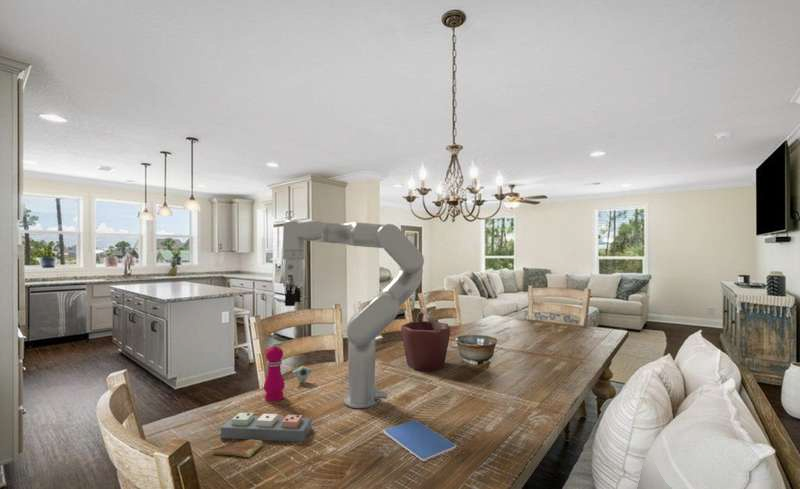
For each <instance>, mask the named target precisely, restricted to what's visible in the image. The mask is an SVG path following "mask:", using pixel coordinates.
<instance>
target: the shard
mask: <svg viewBox="0 0 800 489" xmlns="http://www.w3.org/2000/svg"><path fill="white" fill-rule="evenodd" d="M262 444H263V440H255V439H243V440H242V441H236V442H233V443H230V444H226V445H223V446H220V447H217V448H213V449H211V451H212V452H213V455H226V456H227V455H229V456H238V457H243V458H251V457H252V455H253V454H255V452H256V451H257V450H259V449H260V448H261V447H262Z"/></svg>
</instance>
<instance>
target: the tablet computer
mask: <svg viewBox="0 0 800 489" xmlns="http://www.w3.org/2000/svg"><path fill="white" fill-rule="evenodd" d="M382 433H383V434H384V435H386V436H387V437H388V438H390V439H391V440H392V441H394V442H395V443H397V445H398V446H399V447H402V449H404V448H405V449H404V450H405V451H407V450H408V451H409V452H408V451H407V452H408V453H409V454H411V455H412V454H413V455H415V456H416V457H418V458H419V459H420V460H427V459H430V458H433V457H435V456H437V455H440V454H442V453H444V452H447V451H449V450H451V449H454V448H456V447H457V448H458V446H457V444H455V443H454V442H453V441H451V440H449V439H448V438H446V437H443V435H440V434H439V433H437V432H435V431H434V430H432V429H431V428H429V427H428V426H427V425H424V424H423V423H421V422H420V421H418V420H416V419H413V420H412V419H411V420H410V421H407V422H403V423H401V424H397V425H395V426H391V427H389V428H385V429H383V431H382ZM457 448H456V449H457ZM447 453H448V452H447ZM413 455H412V456H413ZM442 455H443V454H442ZM415 456H414V457H415ZM440 456H441V455H440ZM416 457H415V458H416ZM435 458H436V457H435ZM433 459H434V458H433ZM420 460H419V461H420ZM430 460H431V459H430Z"/></svg>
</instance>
